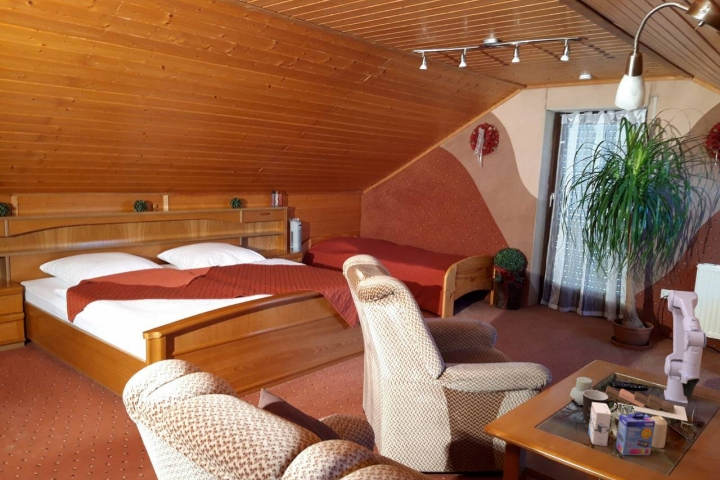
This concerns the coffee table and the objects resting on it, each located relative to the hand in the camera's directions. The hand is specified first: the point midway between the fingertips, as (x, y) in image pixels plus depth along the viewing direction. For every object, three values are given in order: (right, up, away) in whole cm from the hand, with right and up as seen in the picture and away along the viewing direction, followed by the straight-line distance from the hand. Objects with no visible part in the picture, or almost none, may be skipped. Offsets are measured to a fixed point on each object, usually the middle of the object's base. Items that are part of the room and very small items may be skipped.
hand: (687, 396), depth 218 cm
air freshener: (-37, -5, +8) cm, 38 cm away
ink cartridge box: (-34, -11, -27) cm, 45 cm away
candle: (-23, -11, -22) cm, 34 cm away
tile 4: (-18, -4, +9) cm, 20 cm away
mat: (-11, -6, +6) cm, 14 cm away
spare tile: (-13, -5, +7) cm, 16 cm away
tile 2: (-8, -5, +5) cm, 11 cm away
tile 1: (-4, -6, +3) cm, 8 cm away
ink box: (-42, -10, -20) cm, 48 cm away
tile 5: (-22, -4, +11) cm, 25 cm away
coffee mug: (-37, -8, -7) cm, 39 cm away
